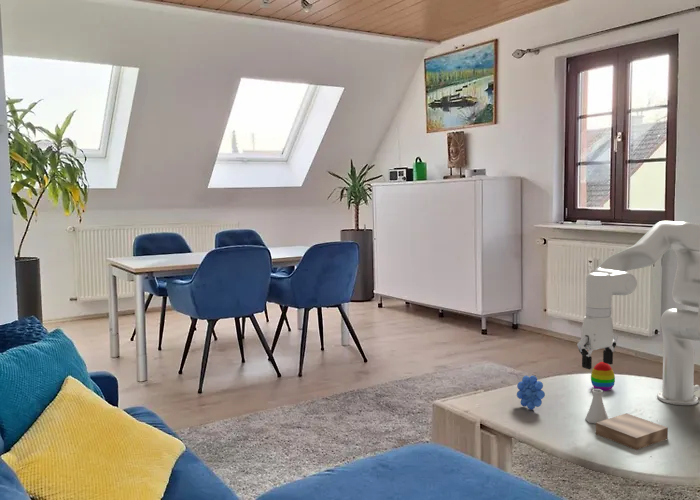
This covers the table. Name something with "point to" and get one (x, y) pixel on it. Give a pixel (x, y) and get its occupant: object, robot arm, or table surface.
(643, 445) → the flat wooden block
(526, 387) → the grapes
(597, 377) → the decorative egg
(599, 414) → the flask
